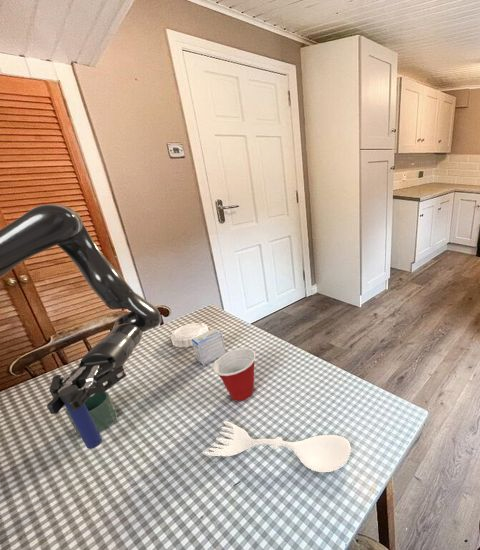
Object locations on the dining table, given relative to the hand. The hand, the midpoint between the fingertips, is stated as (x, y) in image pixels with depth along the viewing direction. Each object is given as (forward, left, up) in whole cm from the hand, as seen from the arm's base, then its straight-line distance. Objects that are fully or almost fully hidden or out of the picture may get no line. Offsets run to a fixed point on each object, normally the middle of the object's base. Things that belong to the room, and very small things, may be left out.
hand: (62, 408), depth 58 cm
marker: (0, +3, -13) cm, 13 cm away
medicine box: (+16, +36, -18) cm, 43 cm away
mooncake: (+6, +50, -18) cm, 53 cm away
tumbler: (-6, +14, -17) cm, 23 cm away
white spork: (+39, -5, -18) cm, 43 cm away
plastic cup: (+28, +16, -18) cm, 37 cm away
